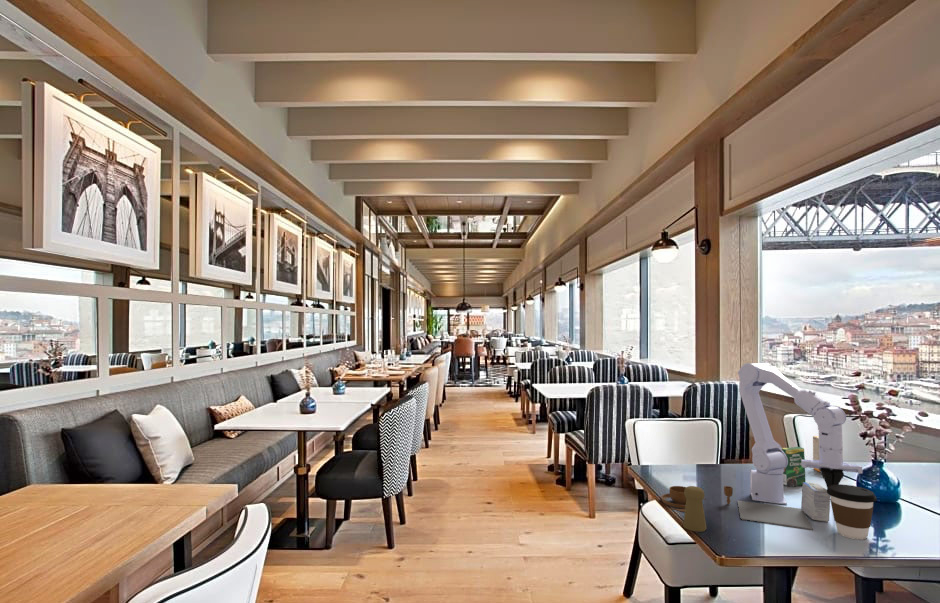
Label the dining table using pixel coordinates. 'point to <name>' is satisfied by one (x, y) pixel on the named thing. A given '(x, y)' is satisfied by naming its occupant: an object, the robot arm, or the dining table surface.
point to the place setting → (678, 496)
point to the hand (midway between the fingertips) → (831, 494)
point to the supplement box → (816, 449)
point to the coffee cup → (852, 510)
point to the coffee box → (794, 467)
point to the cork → (694, 509)
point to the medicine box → (815, 501)
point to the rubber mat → (773, 514)
